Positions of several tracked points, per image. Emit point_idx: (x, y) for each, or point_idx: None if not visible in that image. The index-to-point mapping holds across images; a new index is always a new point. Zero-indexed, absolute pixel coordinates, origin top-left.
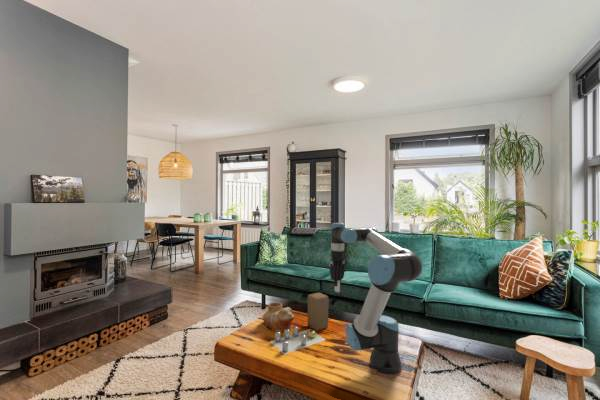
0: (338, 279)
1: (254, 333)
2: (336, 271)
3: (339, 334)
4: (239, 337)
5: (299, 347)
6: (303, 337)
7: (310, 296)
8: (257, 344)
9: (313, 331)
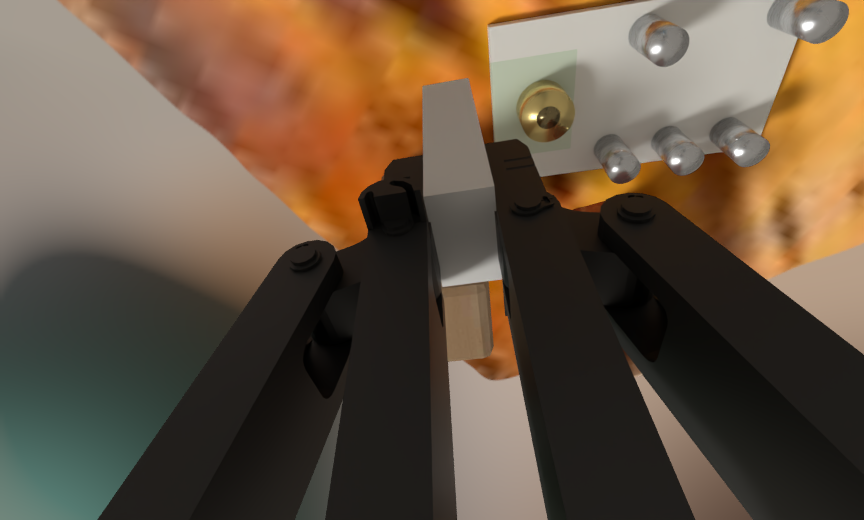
0: (433, 247)
1: (727, 246)
2: (654, 443)
3: (361, 71)
4: (802, 239)
5: (688, 11)
6: (683, 30)
7: (490, 335)
8: (801, 155)
9: (537, 110)
